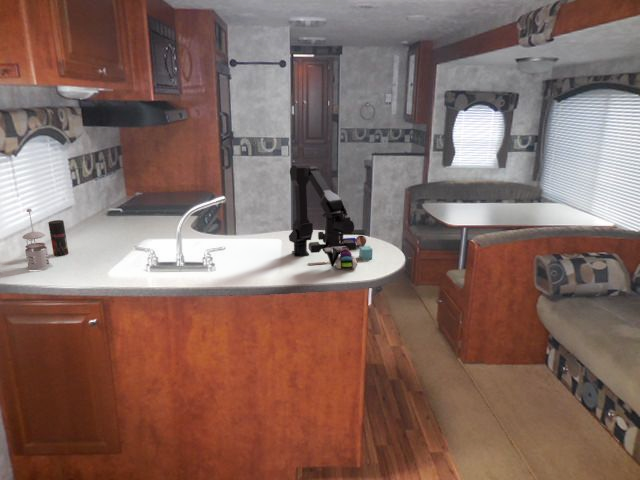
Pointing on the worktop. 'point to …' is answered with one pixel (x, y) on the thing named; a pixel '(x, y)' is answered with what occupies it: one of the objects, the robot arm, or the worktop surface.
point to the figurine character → (359, 240)
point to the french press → (36, 251)
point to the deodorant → (58, 237)
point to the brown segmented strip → (327, 262)
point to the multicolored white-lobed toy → (346, 260)
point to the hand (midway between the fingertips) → (332, 266)
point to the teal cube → (365, 252)
